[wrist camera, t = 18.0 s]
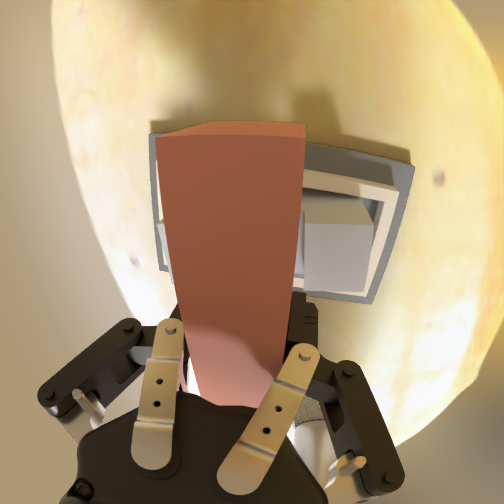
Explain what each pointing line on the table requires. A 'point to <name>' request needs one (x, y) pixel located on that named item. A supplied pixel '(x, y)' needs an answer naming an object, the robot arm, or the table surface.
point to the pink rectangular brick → (233, 247)
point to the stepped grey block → (326, 242)
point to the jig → (336, 181)
